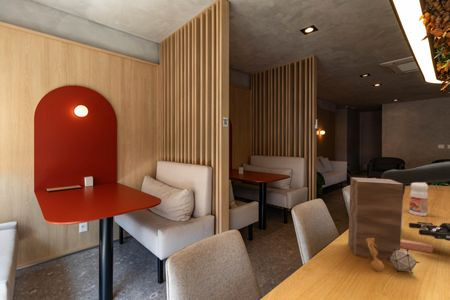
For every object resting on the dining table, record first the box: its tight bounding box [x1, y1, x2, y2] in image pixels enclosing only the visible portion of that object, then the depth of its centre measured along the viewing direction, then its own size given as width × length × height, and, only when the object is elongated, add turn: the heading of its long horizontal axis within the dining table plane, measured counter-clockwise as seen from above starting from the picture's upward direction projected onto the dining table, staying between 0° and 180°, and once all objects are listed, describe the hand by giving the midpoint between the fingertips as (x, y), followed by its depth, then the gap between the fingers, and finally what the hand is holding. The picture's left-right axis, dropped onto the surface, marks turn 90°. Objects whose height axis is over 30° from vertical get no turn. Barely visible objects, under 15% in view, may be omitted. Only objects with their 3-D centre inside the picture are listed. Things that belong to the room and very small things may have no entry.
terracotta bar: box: [400, 238, 434, 253], centre depth 106 cm, size 4×22×3 cm, turn 67°
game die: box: [387, 248, 421, 274], centre depth 85 cm, size 9×8×10 cm
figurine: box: [366, 238, 385, 272], centre depth 86 cm, size 8×6×12 cm
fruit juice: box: [408, 183, 429, 217], centre depth 154 cm, size 9×9×28 cm
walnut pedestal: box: [347, 176, 404, 262], centre depth 99 cm, size 12×16×32 cm
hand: (414, 228), depth 104 cm, fingers open, 8 cm apart
